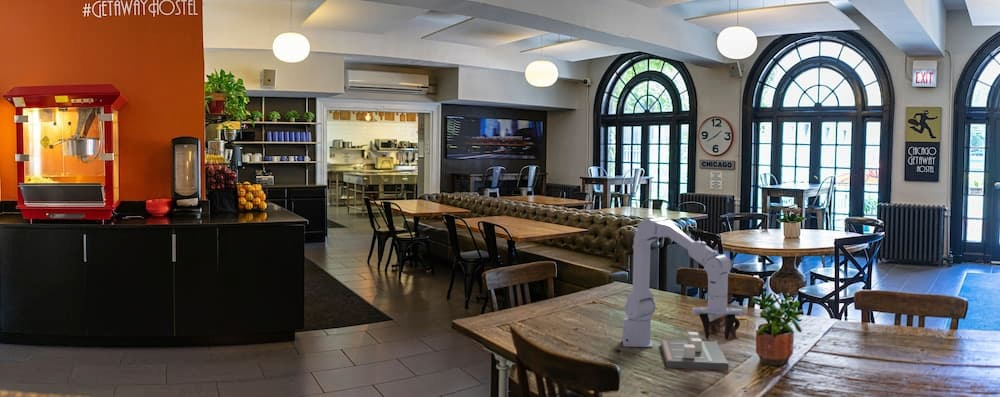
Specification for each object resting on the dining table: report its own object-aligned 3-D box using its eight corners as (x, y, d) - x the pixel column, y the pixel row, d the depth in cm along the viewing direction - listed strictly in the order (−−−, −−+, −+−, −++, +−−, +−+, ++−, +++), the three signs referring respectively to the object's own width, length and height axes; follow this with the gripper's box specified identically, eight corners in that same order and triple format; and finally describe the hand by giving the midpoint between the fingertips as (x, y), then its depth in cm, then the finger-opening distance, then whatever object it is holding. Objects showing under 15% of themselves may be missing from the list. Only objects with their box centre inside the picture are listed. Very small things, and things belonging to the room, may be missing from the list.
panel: (667, 367, 214) (667, 360, 214) (660, 345, 236) (660, 339, 236) (728, 369, 212) (728, 362, 212) (716, 347, 234) (716, 341, 233)
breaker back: (689, 344, 229) (689, 334, 229) (687, 341, 232) (688, 331, 232) (698, 345, 229) (698, 334, 229) (697, 342, 232) (697, 332, 232)
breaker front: (684, 358, 216) (685, 347, 216) (683, 354, 219) (683, 344, 219) (694, 358, 215) (695, 347, 215) (693, 355, 218) (693, 344, 218)
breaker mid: (691, 351, 222) (692, 340, 222) (690, 348, 225) (690, 338, 225) (701, 351, 222) (701, 341, 222) (700, 348, 225) (700, 338, 225)
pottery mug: (723, 343, 240) (712, 320, 242) (709, 347, 249) (698, 326, 251) (750, 330, 244) (739, 308, 246) (735, 335, 253) (724, 314, 255)
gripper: (694, 297, 211) (693, 341, 213) (745, 298, 209) (743, 343, 211) (691, 291, 218) (690, 334, 219) (740, 293, 216) (739, 336, 217)
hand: (716, 338), depth 215 cm, fingers open, 5 cm apart
